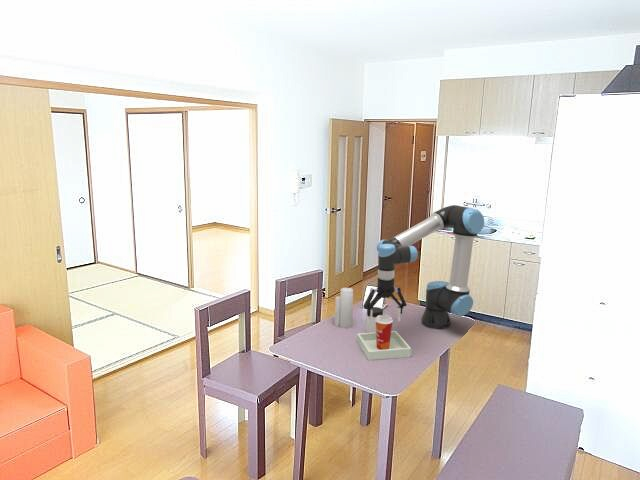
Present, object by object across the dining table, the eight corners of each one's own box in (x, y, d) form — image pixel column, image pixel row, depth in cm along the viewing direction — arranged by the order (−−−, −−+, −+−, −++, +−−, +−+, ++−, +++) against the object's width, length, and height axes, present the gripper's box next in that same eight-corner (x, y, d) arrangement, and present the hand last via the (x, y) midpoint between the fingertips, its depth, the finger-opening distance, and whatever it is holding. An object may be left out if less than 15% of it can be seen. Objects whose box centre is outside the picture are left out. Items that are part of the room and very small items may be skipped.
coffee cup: (372, 343, 227) (373, 314, 224) (389, 343, 228) (390, 314, 225) (376, 351, 219) (377, 321, 216) (393, 351, 220) (395, 320, 216)
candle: (354, 325, 251) (355, 289, 246) (346, 329, 245) (347, 292, 241) (338, 319, 258) (339, 284, 254) (329, 323, 253) (330, 287, 248)
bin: (395, 338, 235) (396, 330, 234) (410, 356, 216) (411, 348, 215) (356, 341, 231) (357, 333, 230) (368, 360, 212) (369, 351, 211)
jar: (363, 329, 245) (363, 307, 243) (376, 327, 248) (377, 305, 246) (371, 336, 237) (372, 313, 235) (385, 333, 240) (386, 311, 238)
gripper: (408, 274, 222) (406, 316, 226) (357, 277, 217) (356, 320, 222) (414, 278, 214) (412, 322, 219) (361, 282, 210) (360, 326, 214)
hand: (384, 321), depth 220 cm, fingers open, 13 cm apart
